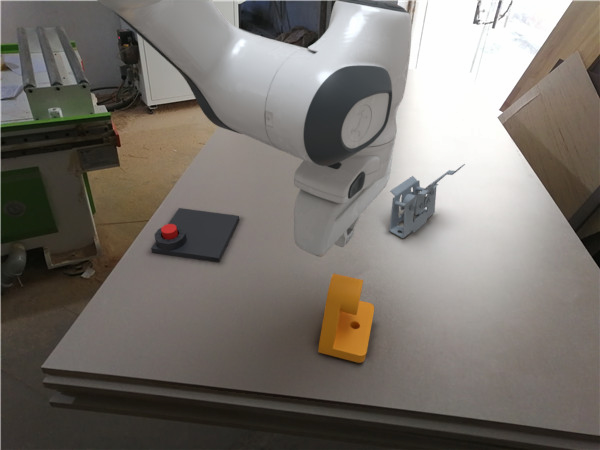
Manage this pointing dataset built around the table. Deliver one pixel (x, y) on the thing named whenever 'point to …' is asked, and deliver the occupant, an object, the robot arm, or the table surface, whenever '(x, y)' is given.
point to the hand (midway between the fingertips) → (343, 240)
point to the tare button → (169, 231)
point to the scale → (197, 235)
